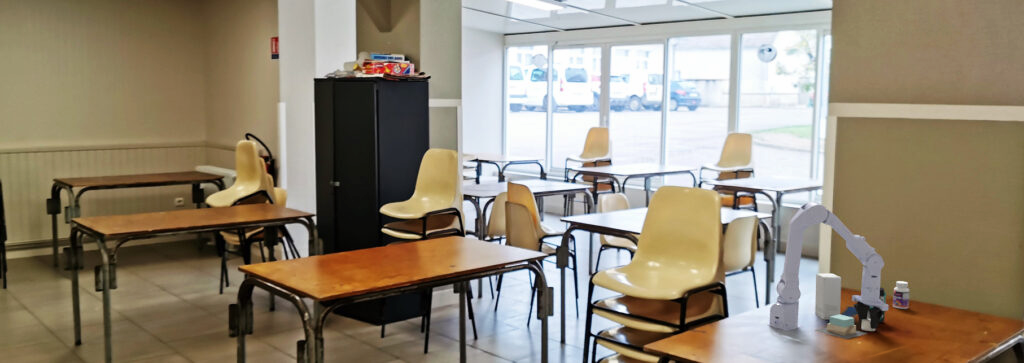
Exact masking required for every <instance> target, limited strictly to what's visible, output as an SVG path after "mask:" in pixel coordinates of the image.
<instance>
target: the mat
mask: <svg viewBox="0 0 1024 363" xmlns="http://www.w3.org/2000/svg"><path fill="white" fill-rule="evenodd" d="M814 331H816V332H820V333H822V334H827V335H830V336H835V337H838V338H841V339H845V340H849V339H852V338H853V339H854V338H857V337H860V336H864V335H867V334H868V332H863V331H859V330H856V333H853V334H849V335H845V336H844V335H840V334H836V333H832V332H829V331H827V326H826V327H822V328H818V329H815V330H814Z"/></svg>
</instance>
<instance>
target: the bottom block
mask: <svg viewBox="0 0 1024 363" xmlns="http://www.w3.org/2000/svg"><path fill="white" fill-rule="evenodd" d="M829 323H830V322H829ZM829 323H827V324H826V327H827V331H829V332H832V333H836V334H840V335H844V336H845V335H849V334H853V333H856V331H857V325H855V324H854V325H853V326H849V327H845V328H843V327H840V326H836V325H832V324H829Z"/></svg>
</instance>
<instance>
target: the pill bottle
mask: <svg viewBox="0 0 1024 363" xmlns="http://www.w3.org/2000/svg"><path fill="white" fill-rule="evenodd" d="M908 286H909V283H908V281H903V280H902V281H901V280H897V281H896V282H895V287H894V288H893V297H892V298H893V299H892V307H893V308H895V309H901V310H907V309H909V303H910V288H908Z"/></svg>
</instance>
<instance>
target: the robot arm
mask: <svg viewBox="0 0 1024 363" xmlns="http://www.w3.org/2000/svg"><path fill="white" fill-rule="evenodd" d="M821 223H822V224H824V225H828V226H830V227H831V228H832V229H833V230H834V231H835V232H836V233H837V234H838V235H840V237H842V239H843V240H845V247H846V248H847V249H848V250H849V251H850V252H851V253H852V254H853V255H854V256H855V257H856V258H857V259H858V261H860V264H862V265H863V266H862V274H861V275H862V276H861V289H860V290H861V292H860V295H857V294H855V295H851V301H852V302H856V303H854V304H853V307H854V309H855V311H856V313H857V318H858V322H859V325H860V326H861V324H862V319H867V315H868V311H869V313H870V326H871V329H875V330H876V329H878V326H879V324H880V323H879V321H880V319H881V317H882V315H883V314H884V313H885V314H886V311H889V306H890V304H887V303H886V302H885V303H883V302H881V300H880V299H879V296H880V287H881V278H882V276H881V275H882V274H881V272H882V269H883V268H884V267H885V262H884V259H883V257H882V256H881V254H879V253H877V252H876V248H875V247H872V246H871V245H869V243H868V242H867V241H866V240H867V239H866V238H865V236H861V235H860V234H853V233H852V231H850V230H849V228H848V227H846V225H845V224H844V223H843V221H841V219H840V218H839V217H838V216H837V215H836V214H834V213H833V212H832V211H830V210H829V209H827V207H825V206H824V205H823V204H820V203H818V202H816V201H812V200H811V201H808V202H806V203H804V204H802V205H801V206H800V207H799V209H798V210H797V212H796V213H795V214H794V215H793V217H791V219H790V220H789V224H788V232H787V233H788V234H787V240H786V246H785V247H786V248H785V255H784V264H783V271H782V273H781V275H780V278H779V281H778V283H777V284H776V288H775V290H776V292H777V294H778V296H777V298H776V301H775V303H774V304H772V305H771V307H770V309H769V310H770V311H769V324H767V326H768V327H769V326H770V327H771V328H776V329H779V330H783V331H790V330H794V329H798V328H803V327H804V325H800V324H799V308H800V306H799V305H800V298H801V296H802V295H801V293H802V292H801V290H800V278H799V273H800V266H801V259H802V251H803V244H804V243H803V242H804V236H805V230H807V229H809V228H810V227H812V226H813V225H817V224H818V225H819V224H821ZM870 306H872V307H873V308H870Z"/></svg>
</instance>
